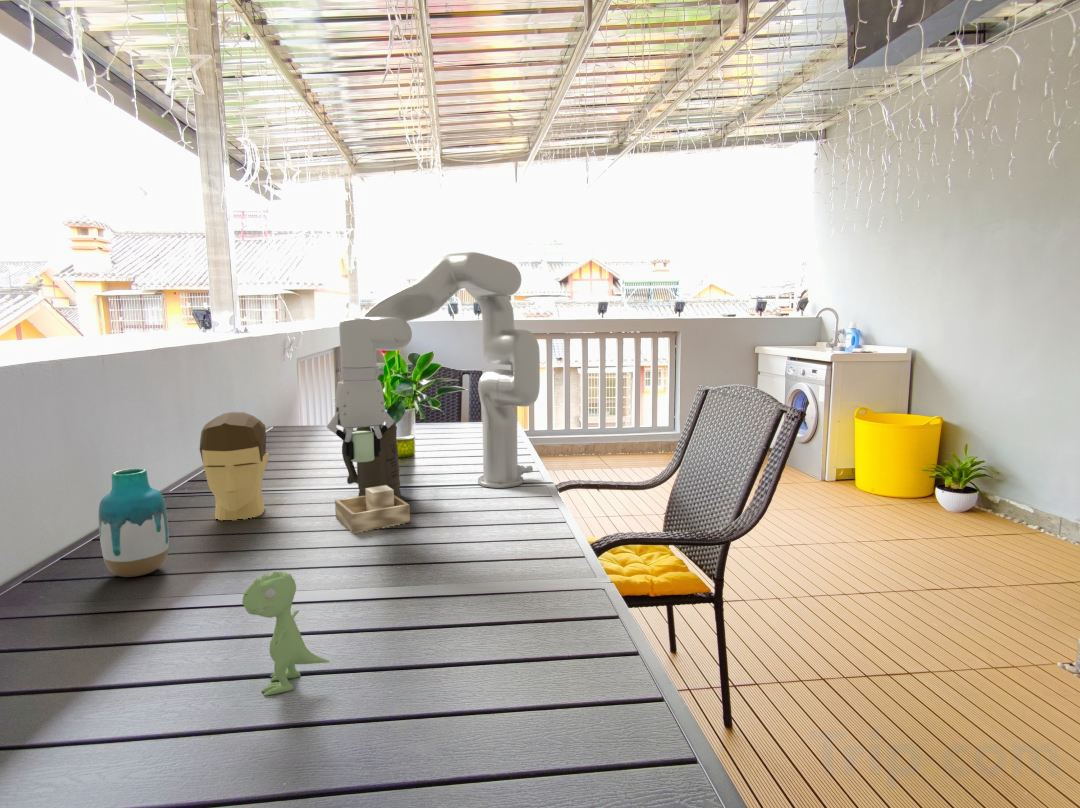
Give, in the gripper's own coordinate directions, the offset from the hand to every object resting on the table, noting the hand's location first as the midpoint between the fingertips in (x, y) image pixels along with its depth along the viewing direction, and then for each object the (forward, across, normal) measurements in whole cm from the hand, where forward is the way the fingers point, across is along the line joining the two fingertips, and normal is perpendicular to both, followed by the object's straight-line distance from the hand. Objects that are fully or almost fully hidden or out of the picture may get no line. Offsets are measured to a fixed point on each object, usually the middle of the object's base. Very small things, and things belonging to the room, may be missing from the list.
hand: (362, 456), depth 145 cm
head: (+16, +22, -23) cm, 36 cm away
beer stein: (+16, -8, -21) cm, 28 cm away
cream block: (+15, -5, -4) cm, 16 cm away
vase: (+16, +44, +4) cm, 47 cm away
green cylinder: (+1, 0, 0) cm, 1 cm away
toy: (+16, +29, +57) cm, 66 cm away
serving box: (+16, -2, -2) cm, 16 cm away
